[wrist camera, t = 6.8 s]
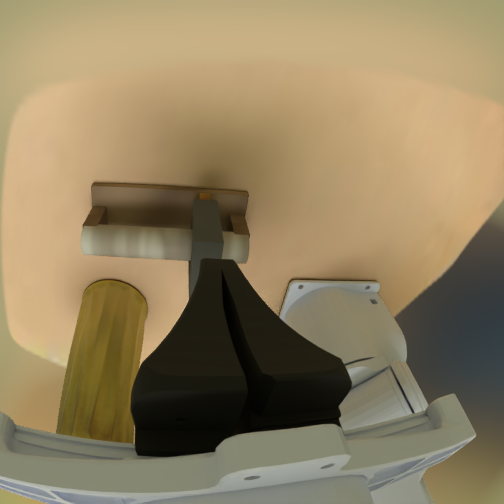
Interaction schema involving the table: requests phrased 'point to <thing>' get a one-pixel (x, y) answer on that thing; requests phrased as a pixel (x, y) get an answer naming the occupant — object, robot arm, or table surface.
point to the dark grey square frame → (204, 237)
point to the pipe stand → (159, 221)
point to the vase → (103, 364)
